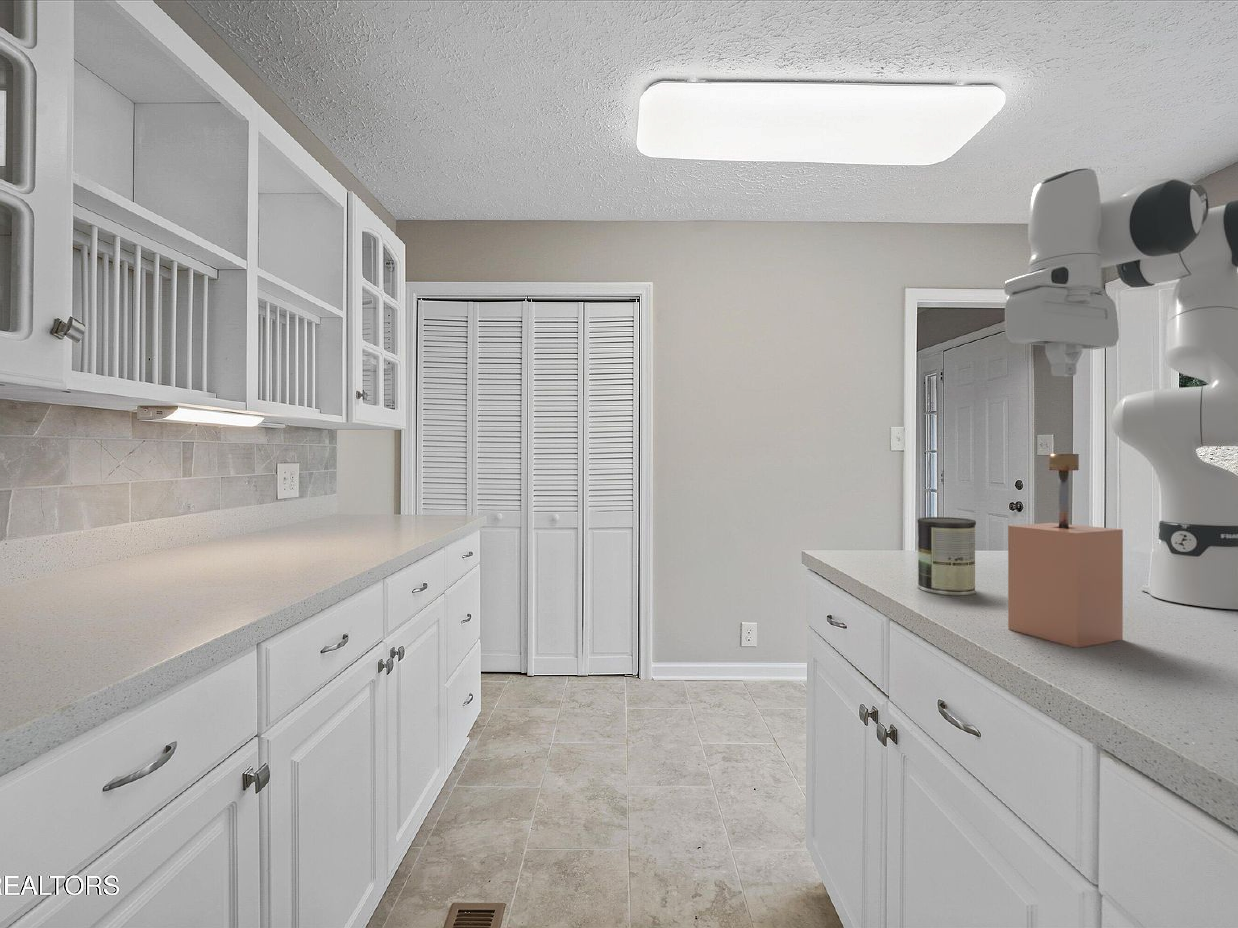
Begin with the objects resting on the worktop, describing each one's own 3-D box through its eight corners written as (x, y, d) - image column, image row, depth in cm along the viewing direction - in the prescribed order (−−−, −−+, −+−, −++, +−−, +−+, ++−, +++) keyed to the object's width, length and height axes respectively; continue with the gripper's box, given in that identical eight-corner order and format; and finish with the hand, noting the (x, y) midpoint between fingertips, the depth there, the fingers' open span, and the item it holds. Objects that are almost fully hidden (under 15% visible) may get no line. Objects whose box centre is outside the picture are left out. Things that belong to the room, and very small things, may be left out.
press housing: (1052, 622, 98) (1052, 522, 98) (1122, 639, 89) (1122, 529, 88) (1008, 629, 94) (1008, 525, 94) (1077, 647, 85) (1077, 533, 85)
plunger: (1054, 536, 96) (1054, 454, 96) (1109, 542, 89) (1109, 453, 89) (1020, 539, 93) (1020, 454, 93) (1073, 546, 86) (1073, 454, 86)
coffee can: (906, 588, 124) (906, 518, 124) (936, 582, 129) (936, 515, 129) (957, 598, 115) (956, 523, 115) (986, 591, 120) (986, 520, 120)
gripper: (1086, 294, 97) (1086, 381, 98) (995, 282, 90) (996, 375, 90) (1132, 283, 92) (1131, 376, 92) (1038, 269, 84) (1038, 370, 84)
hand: (1063, 375), depth 91 cm, fingers closed
